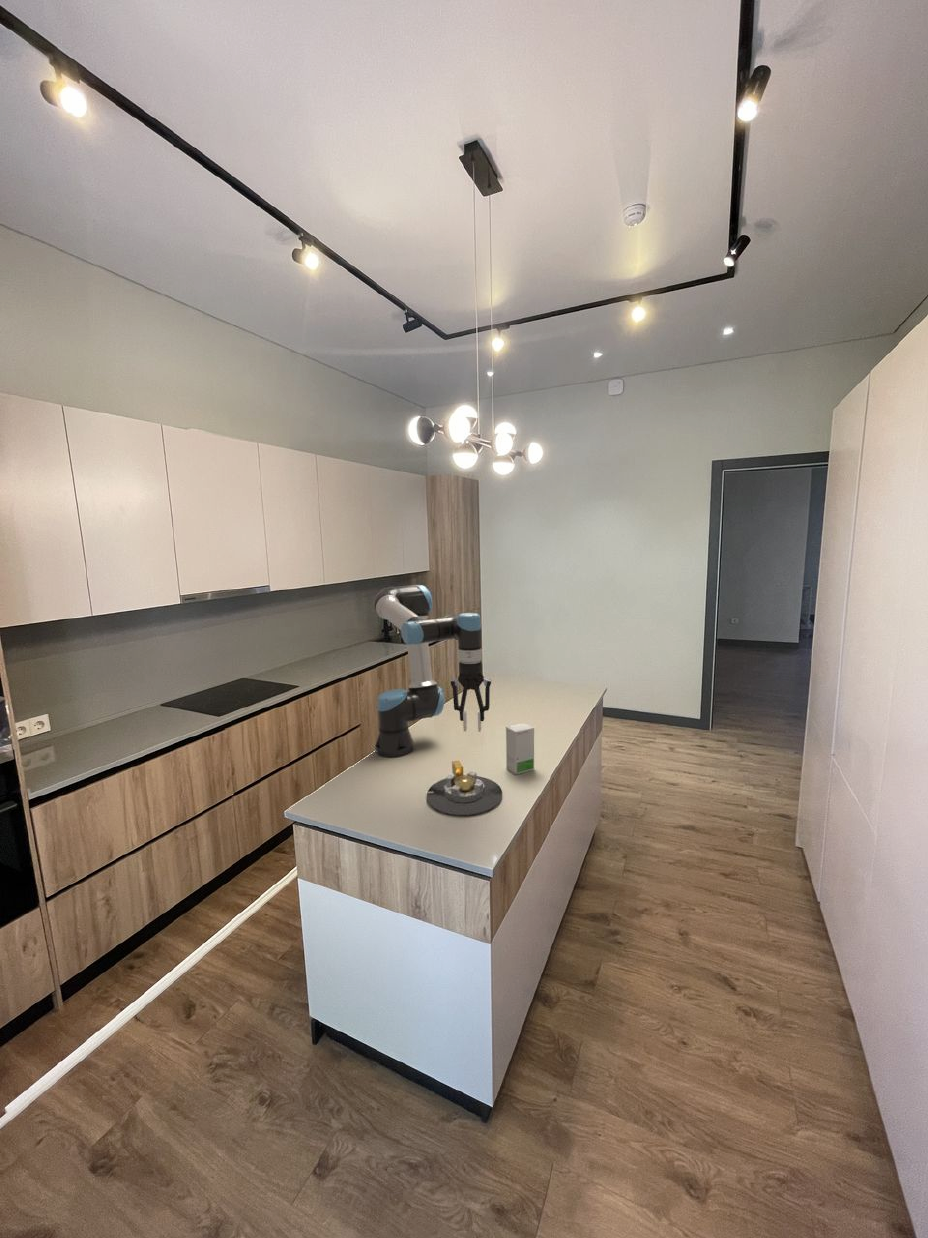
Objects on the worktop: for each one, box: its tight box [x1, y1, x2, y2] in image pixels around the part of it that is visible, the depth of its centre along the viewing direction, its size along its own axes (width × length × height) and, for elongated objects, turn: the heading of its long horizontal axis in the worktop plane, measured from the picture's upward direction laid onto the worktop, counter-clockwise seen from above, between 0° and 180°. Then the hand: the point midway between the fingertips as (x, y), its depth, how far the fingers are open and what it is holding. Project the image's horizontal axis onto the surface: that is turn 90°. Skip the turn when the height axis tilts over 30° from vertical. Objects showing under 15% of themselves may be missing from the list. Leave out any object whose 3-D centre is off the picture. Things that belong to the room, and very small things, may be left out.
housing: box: [426, 774, 503, 818], centre depth 153 cm, size 24×24×6 cm
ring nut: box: [444, 760, 485, 803], centre depth 155 cm, size 17×13×6 cm
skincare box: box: [505, 722, 535, 775], centre depth 170 cm, size 8×7×16 cm
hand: (472, 730), depth 159 cm, fingers open, 4 cm apart
